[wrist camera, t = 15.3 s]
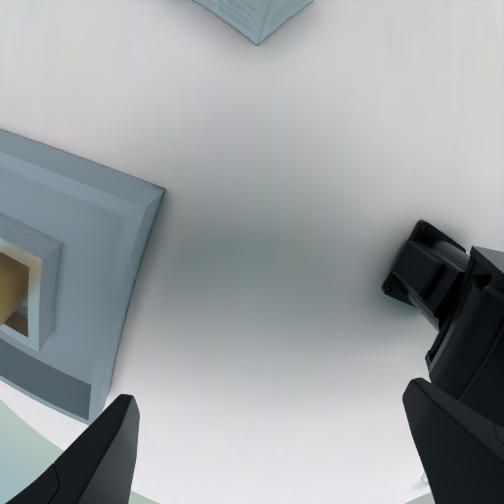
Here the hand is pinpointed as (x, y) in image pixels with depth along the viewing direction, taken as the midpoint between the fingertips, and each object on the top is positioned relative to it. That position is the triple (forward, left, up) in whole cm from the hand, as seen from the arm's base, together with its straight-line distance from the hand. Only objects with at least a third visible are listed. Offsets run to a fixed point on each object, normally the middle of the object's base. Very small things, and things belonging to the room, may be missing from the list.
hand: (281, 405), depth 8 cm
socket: (+17, +8, -13) cm, 23 cm away
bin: (+17, +8, -13) cm, 23 cm away
